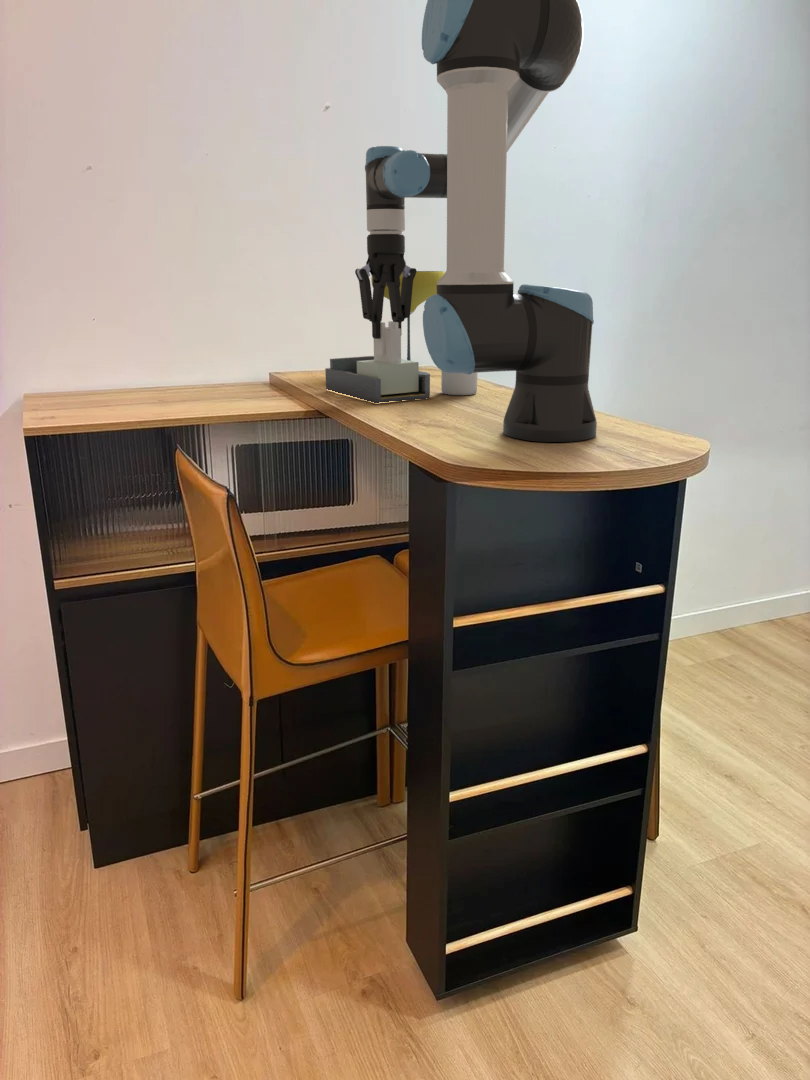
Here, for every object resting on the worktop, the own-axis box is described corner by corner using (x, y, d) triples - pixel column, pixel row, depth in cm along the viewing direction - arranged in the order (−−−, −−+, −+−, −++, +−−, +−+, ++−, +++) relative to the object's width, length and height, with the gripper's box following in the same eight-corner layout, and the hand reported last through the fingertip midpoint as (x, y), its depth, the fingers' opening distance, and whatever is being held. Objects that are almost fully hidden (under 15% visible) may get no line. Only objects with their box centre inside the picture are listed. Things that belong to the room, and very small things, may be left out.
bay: (429, 398, 171) (429, 364, 169) (375, 404, 165) (375, 369, 162) (376, 386, 189) (376, 355, 187) (326, 391, 182) (325, 359, 180)
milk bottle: (478, 396, 174) (480, 298, 168) (441, 396, 175) (442, 298, 168) (475, 390, 182) (477, 296, 175) (440, 390, 182) (441, 296, 176)
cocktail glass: (457, 373, 210) (458, 271, 203) (420, 381, 196) (421, 271, 188) (397, 369, 220) (397, 271, 212) (359, 377, 205) (356, 271, 197)
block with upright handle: (418, 391, 171) (418, 328, 167) (378, 395, 166) (377, 330, 162) (396, 386, 178) (395, 325, 174) (357, 389, 174) (355, 327, 170)
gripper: (408, 234, 169) (409, 350, 177) (342, 233, 162) (345, 355, 169) (428, 233, 163) (428, 353, 171) (360, 232, 156) (363, 358, 163)
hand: (387, 354), depth 170 cm, fingers closed on block with upright handle, 2 cm apart
